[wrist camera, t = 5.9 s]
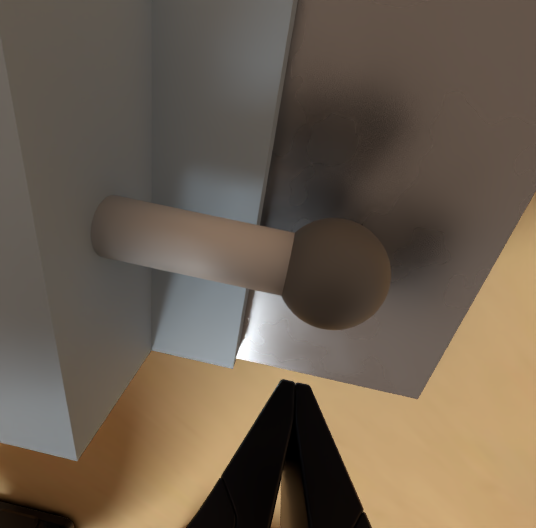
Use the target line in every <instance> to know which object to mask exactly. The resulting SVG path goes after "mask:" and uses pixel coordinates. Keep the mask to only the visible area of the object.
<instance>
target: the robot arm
mask: <svg viewBox="0 0 536 528" xmlns="http://www.w3.org/2000/svg"><path fill="white" fill-rule="evenodd" d="M280 482H281V514H280V528H372V527H371V525H370V522H369V520H368V518H367V515H366V513H365V512H363V510H364V509H363V506H362V504H361V502H360V500H359V497H358V495H357V493H356V490H355V488H354V486H353V483H352V481H351V479H350V477H349V474H348V472H347V470H346V467H345V465H344V463H343V461H342V458H341V456H340V454H339V451H338V449H337V447H336V444H335V442H334V440H333V438H332V435H331V433H330V431H329V428H328V426H327V424H326V421H325V419H324V417H323V415H322V412H321V410H320V408H319V405H318V403H317V401H316V399H315V396H314V394H313V392H312V389H311V387H310V386H309V385H307V384H302V383H296V384H295V383H294V382H293V381H288V380H284V379H282V380H281V381H280V382H279V384H278V385H277V387H276V389H275V390H274V392H273V393H272V395H271V397H270V398H269V400H268V401H267V403H266V405H265V406H264V408H263V409H262V411H261V413H260V414H259V416H258V417H257V419H256V421H255V422H254V424H253V426H252V427H251V429H250V430H249V432H248V434H247V435H246V437H245V438H244V440H243V442H242V443H241V445H240V446H239V448H238V450H237V451H236V453H235V454H234V456H233V458H232V459H231V461H230V463H229V464H228V466H227V467H226V469H225V471H224V472H223V474H222V475H221V478H219V480H218V481H217V483H216V485H215V486H214V488H213V489H212V491H211V493H210V494H209V496H208V497H207V499H206V500H205V502H204V503H203V505H202V506H201V508H200V509H199V511H198V512H197V513H196V515H195V516H194V517H193V519H192V520H191V521H190V523H189V524H188V525H187V527H186V528H270V527H271V523H272V518H273V514H274V509H275V505H276V500H277V495H278V491H279V486H280ZM362 512H363V513H362ZM0 528H74V524H73V522H72V521H71V520H70V519H67V518H64V517H60V516H56V515H52V514H48V513H44V512H40V511H36V510H32V509H29V508H25V507H21V506H17V505H13V504H9V503H5V502H1V501H0Z"/></svg>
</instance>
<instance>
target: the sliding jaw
mask: <svg viewBox="0 0 536 528" xmlns="http://www.w3.org/2000/svg"><path fill="white" fill-rule="evenodd" d="M297 3H298V0H0V443H4V444H8V445H13V446H17V447H21V448H25V449H29V450H33V451H37V452H41V453H45V454H50V455H54V456H58V457H62V458H66V459H70V460H74V461H78V459H79V458H80V456H81V455H82V453H83V452H84V450H85V449H86V447H87V446H88V445H89V443H90V442H91V440H92V439H93V437H94V436H95V434H96V433H97V431H98V430H99V428H100V427H101V425H102V424H103V422H104V421H105V419H106V418H107V416H108V415H109V413H110V412H111V410H112V409H113V407H114V406H115V404H116V403H117V401H118V400H119V398H120V397H121V395H122V394H123V392H124V391H125V389H126V388H127V386H128V385H129V383H130V382H131V380H132V379H133V377H134V376H135V374H136V373H137V371H138V370H139V368H140V367H141V365H142V364H143V362H144V361H145V359H146V358H147V356H148V355H149V353H150V352H151V350H152V351H157V352H161V353H165V354H170V355H174V356H179V357H183V358H187V359H192V360H196V361H201V362H205V363H209V364H214V365H218V366H223V367H227V368H231V369H233V367H234V364H235V361H236V357H237V354H238V351H239V346H240V340H241V334H242V328H243V322H244V316H245V310H246V304H247V299H248V293H249V289H252V290H256V291H261V292H266V293H270V294H275V295H279V296H282V299H283V301H284V302H285V304H286V305H287V307H288V308H289V309H290V310H291V312H292V313H293V314H294V315H295V316H297V317H298V318H299V319H300V320H302V321H303V322H305V323H307V324H309V325H311V326H314V327H316V328H320V329H325V330H343V329H348V328H352V327H355V326H357V325H359V324H361V323H363V322H365V321H366V320H368V319H369V318H370V317H372V316H373V315H374V314H375V313H376V312H377V311H378V310H379V308H380V307H381V305H382V304H383V302H384V301H385V299H386V297H387V294H388V291H389V287H390V282H391V267H390V261H389V258H388V255H387V252H386V250H385V248H384V246H383V245H382V243H381V242H380V241H379V239H378V238H377V237H376V236H375V235H374V234H373V233H372V232H371V231H370V230H368V229H367V228H366V227H364V226H362V225H360V224H359V223H356V222H354V221H351V220H347V219H342V218H325V219H320V220H316V221H313V222H311V223H308V224H307V225H305V226H303V227H301V228H300V229H299V230H297V231H296V232H295V233H293V232H289V231H284V230H279V229H274V228H269V227H265V226H260V222H261V216H262V210H263V204H264V198H265V192H266V186H267V180H268V174H269V168H270V163H271V157H272V151H273V145H274V139H275V133H276V127H277V121H278V115H279V109H280V103H281V98H282V92H283V86H284V80H285V74H286V68H287V62H288V56H289V50H290V44H291V38H292V32H293V27H294V21H295V15H296V9H297Z"/></svg>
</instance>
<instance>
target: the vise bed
mask: <svg viewBox="0 0 536 528" xmlns="http://www.w3.org/2000/svg"><path fill="white" fill-rule="evenodd" d="M535 191H536V0H298V3H297V9H296V15H295V21H294V27H293V32H292V38H291V44H290V50H289V56H288V62H287V68H286V74H285V80H284V86H283V92H282V98H281V103H280V109H279V115H278V121H277V127H276V133H275V139H274V145H273V151H272V157H271V163H270V168H269V174H268V180H267V186H266V192H265V198H264V204H263V210H262V216H261V222H260V226H265V227H269V228H274V229H279V230H284V231H289V232H293V233H295V232H296V231H297V230H299V229H300V228H301V227H303V226H305V225H307V224H308V223H311V222H313V221H316V220H320V219H325V218H342V219H347V220H351V221H354V222H356V223H359V224H360V225H362V226H364V227H366V228H367V229H368V230H370V231H371V232H372V233H373V234H374V235H375V236H376V237H377V238H378V239H379V241H380V242H381V243H382V245H383V246H384V248H385V250H386V252H387V255H388V258H389V261H390V267H391V282H390V287H389V291H388V294H387V297H386V299H385V301H384V302H383V304H382V305H381V307H380V308H379V310H378V311H377V312H376V313H375V314H374V315H373V316H372V317H370V318H369V319H368V320H366V321H365V322H363V323H361V324H359V325H357V326H355V327H352V328H348V329H343V330H325V329H320V328H316V327H314V326H311V325H309V324H307V323H305V322H303V321H302V320H300V319H299V318H298V317H297V316H295V315H294V314H293V313H292V312H291V310H290V309H289V308H288V307H287V305H286V304H285V302H284V301H283V299H282V296H279V295H275V294H270V293H266V292H261V291H256V290H252V289H249V293H248V299H247V304H246V310H245V316H244V322H243V328H242V334H241V340H240V346H239V351H238V354H237V357H236V358H238V359H242V360H247V361H251V362H256V363H260V364H265V365H269V366H273V367H278V368H282V369H287V370H291V371H296V372H300V373H304V374H309V375H313V376H318V377H322V378H327V379H331V380H335V381H340V382H344V383H349V384H353V385H358V386H362V387H366V388H371V389H375V390H380V391H384V392H388V393H393V394H397V395H402V396H406V397H411V398H415V399H418V398H419V396H420V394H421V392H422V391H423V389H424V387H425V385H426V384H427V382H428V380H429V378H430V377H431V375H432V373H433V371H434V370H435V368H436V366H437V364H438V362H439V361H440V359H441V357H442V355H443V354H444V352H445V350H446V348H447V347H448V345H449V343H450V341H451V340H452V338H453V336H454V334H455V332H456V331H457V329H458V327H459V325H460V324H461V322H462V320H463V318H464V317H465V315H466V313H467V311H468V310H469V308H470V306H471V304H472V302H473V301H474V299H475V297H476V295H477V294H478V292H479V290H480V288H481V287H482V285H483V283H484V281H485V280H486V278H487V276H488V274H489V273H490V271H491V269H492V267H493V265H494V264H495V262H496V260H497V258H498V257H499V255H500V253H501V251H502V250H503V248H504V246H505V244H506V243H507V241H508V239H509V237H510V235H511V234H512V232H513V230H514V228H515V227H516V225H517V223H518V221H519V220H520V218H521V216H522V214H523V213H524V211H525V209H526V207H527V205H528V204H529V202H530V200H531V198H532V197H533V195H534V193H535Z"/></svg>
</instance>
